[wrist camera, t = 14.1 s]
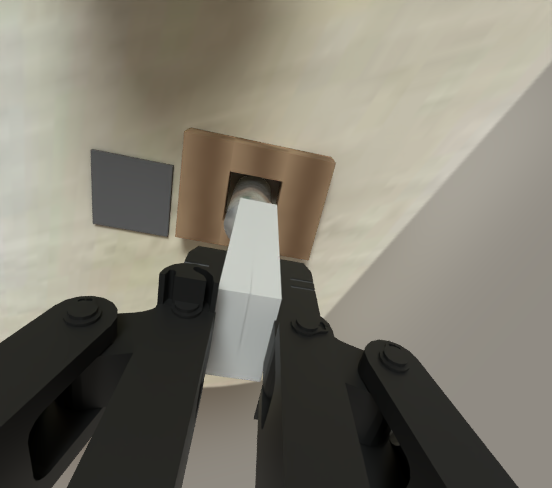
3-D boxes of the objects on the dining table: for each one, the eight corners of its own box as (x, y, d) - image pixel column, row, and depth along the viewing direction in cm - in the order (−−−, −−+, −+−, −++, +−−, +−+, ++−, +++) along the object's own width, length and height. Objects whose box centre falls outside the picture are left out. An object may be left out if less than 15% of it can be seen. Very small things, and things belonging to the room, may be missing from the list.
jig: (181, 226, 43) (175, 236, 40) (190, 127, 38) (184, 131, 35) (306, 249, 44) (308, 260, 42) (331, 157, 39) (335, 163, 37)
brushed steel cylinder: (231, 207, 42) (221, 243, 33) (236, 171, 40) (226, 199, 31) (267, 213, 42) (266, 250, 33) (274, 178, 40) (275, 207, 31)
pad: (94, 222, 42) (92, 223, 42) (92, 149, 38) (90, 150, 38) (168, 235, 43) (167, 236, 43) (173, 165, 39) (172, 166, 39)
